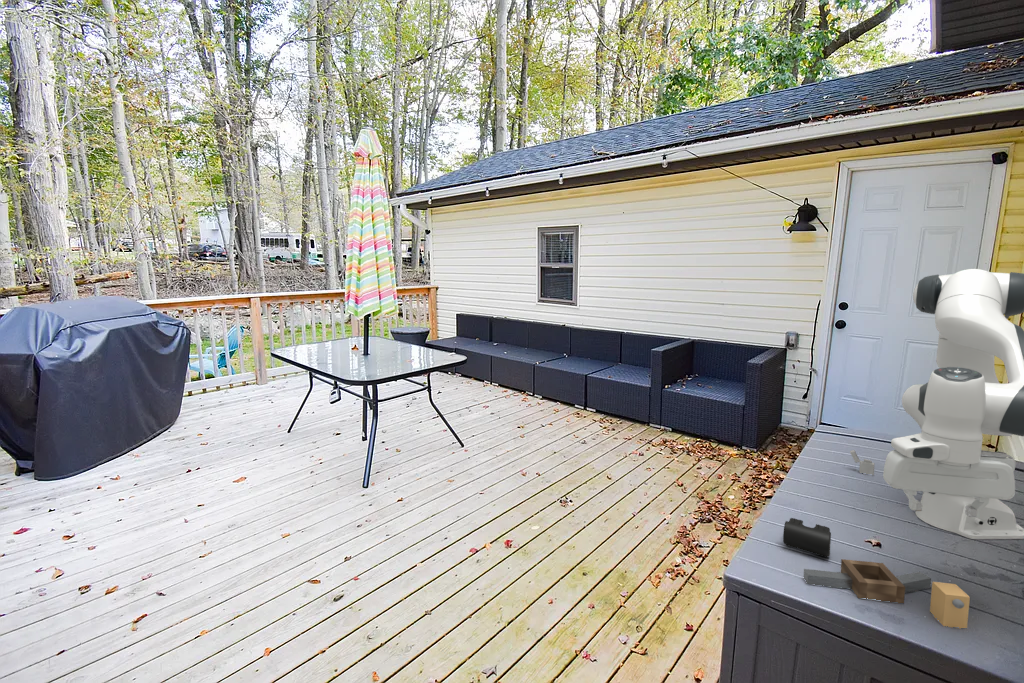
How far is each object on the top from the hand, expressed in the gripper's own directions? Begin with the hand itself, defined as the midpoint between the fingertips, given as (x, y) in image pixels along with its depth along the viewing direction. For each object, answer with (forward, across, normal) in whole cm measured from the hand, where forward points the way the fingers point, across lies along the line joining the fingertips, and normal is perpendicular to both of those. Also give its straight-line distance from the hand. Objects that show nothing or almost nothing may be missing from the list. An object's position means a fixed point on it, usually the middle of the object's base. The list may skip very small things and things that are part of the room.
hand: (943, 512), depth 92 cm
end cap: (+22, +18, -18) cm, 34 cm away
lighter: (+21, -15, -76) cm, 80 cm away
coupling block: (+22, -1, +2) cm, 22 cm away
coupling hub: (+22, +9, -5) cm, 25 cm away
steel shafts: (+22, +9, -7) cm, 25 cm away
